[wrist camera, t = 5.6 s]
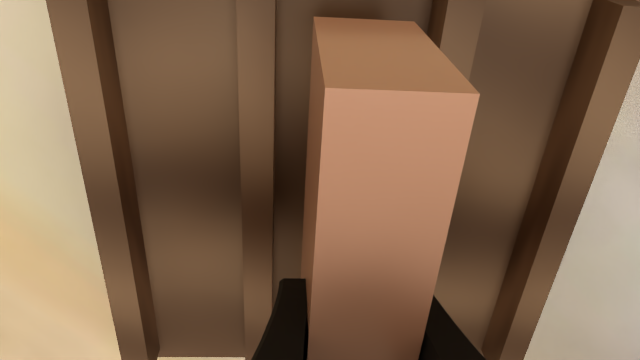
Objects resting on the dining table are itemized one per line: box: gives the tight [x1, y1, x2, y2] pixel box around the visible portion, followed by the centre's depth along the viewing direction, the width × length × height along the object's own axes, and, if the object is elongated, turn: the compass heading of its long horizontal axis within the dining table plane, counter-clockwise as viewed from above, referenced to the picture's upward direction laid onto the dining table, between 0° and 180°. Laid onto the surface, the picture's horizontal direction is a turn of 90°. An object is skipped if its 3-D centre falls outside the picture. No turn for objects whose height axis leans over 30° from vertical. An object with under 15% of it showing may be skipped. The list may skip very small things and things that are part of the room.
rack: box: [46, 0, 640, 360], centre depth 17 cm, size 16×17×2 cm
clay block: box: [301, 17, 480, 360], centre depth 14 cm, size 14×2×5 cm, turn 177°
